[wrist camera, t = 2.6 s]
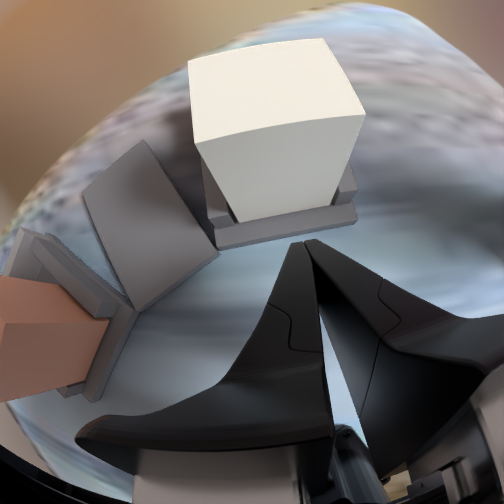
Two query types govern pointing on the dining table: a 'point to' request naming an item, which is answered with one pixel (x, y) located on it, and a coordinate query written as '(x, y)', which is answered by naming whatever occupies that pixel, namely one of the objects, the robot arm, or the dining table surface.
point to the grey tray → (152, 246)
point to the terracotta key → (43, 338)
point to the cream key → (274, 125)
